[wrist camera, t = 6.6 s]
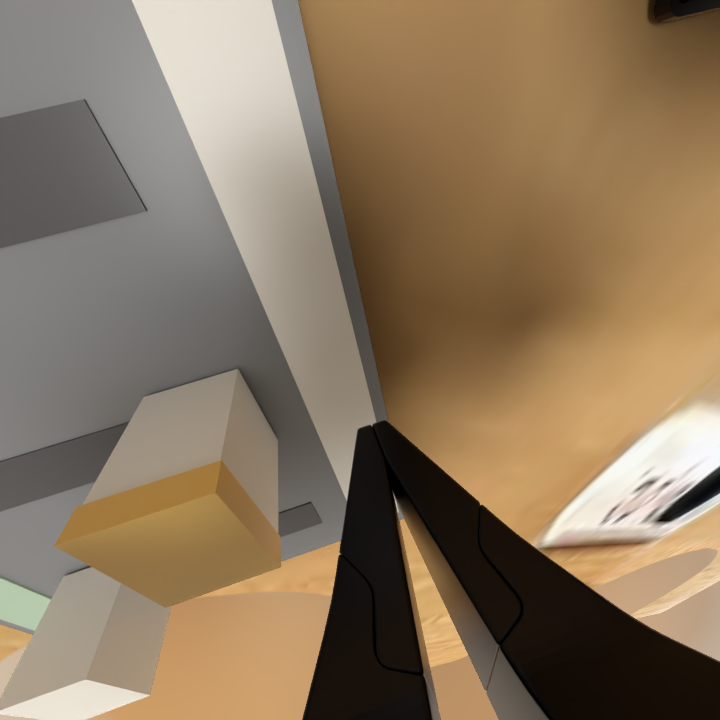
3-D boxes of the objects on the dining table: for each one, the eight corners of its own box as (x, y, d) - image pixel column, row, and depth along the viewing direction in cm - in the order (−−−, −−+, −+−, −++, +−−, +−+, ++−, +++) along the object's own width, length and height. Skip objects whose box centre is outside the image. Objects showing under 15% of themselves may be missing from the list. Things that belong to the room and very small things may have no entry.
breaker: (132, 553, 13) (85, 679, 10) (176, 582, 15) (150, 695, 12) (63, 576, 13) (-8, 713, 10) (117, 603, 15) (74, 723, 12)
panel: (264, -102, 6) (261, -175, 5) (399, 493, 19) (409, 518, 17) (-1044, 137, 4) (-1580, 127, 3) (70, 607, 17) (53, 643, 16)
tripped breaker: (238, 366, 10) (215, 493, 6) (279, 440, 12) (281, 567, 8) (141, 396, 9) (53, 545, 6) (201, 466, 11) (165, 607, 8)
